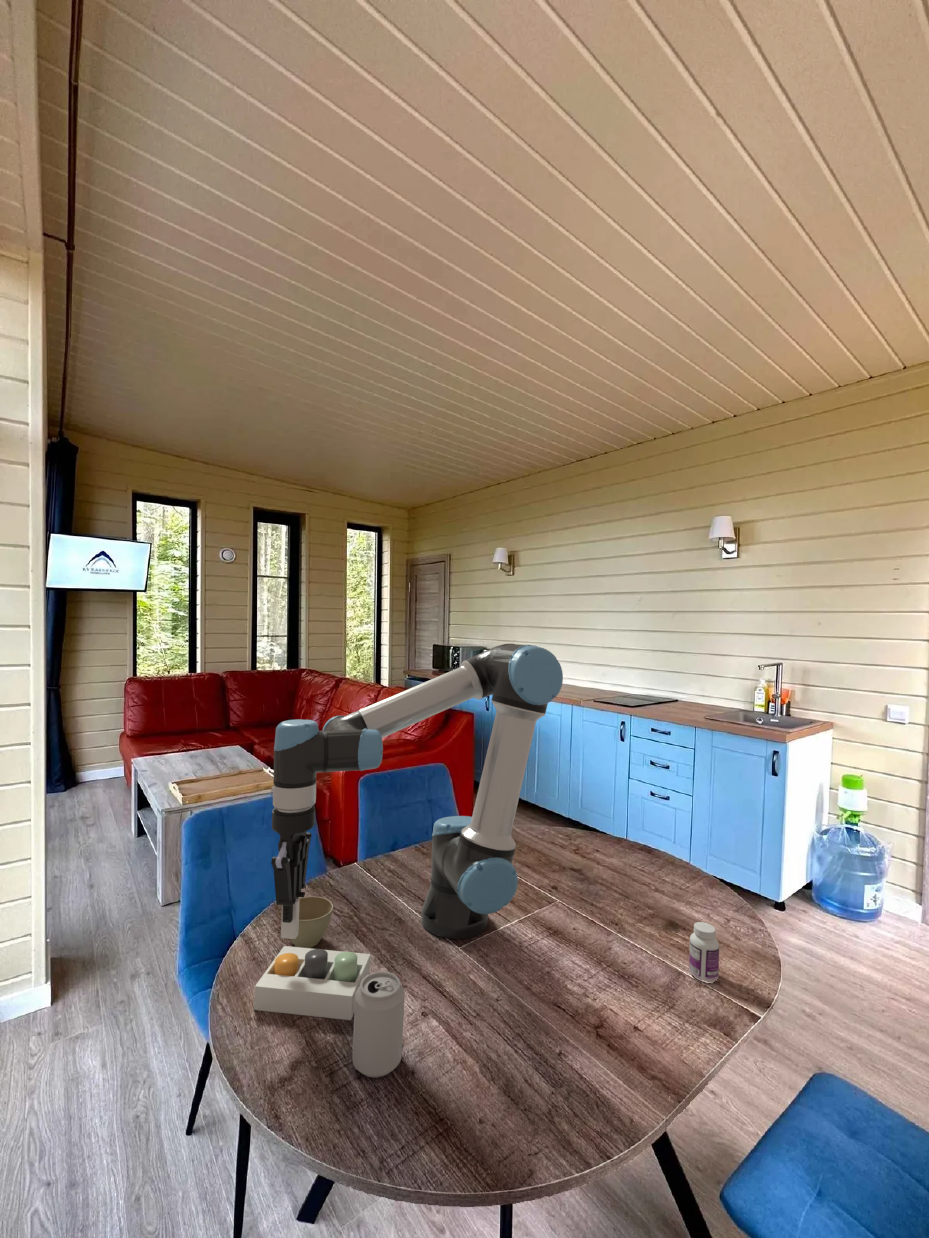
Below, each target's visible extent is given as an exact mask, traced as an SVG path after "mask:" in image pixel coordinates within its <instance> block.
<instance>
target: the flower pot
mask: <svg viewBox="0 0 929 1238" xmlns="http://www.w3.org/2000/svg"><path fill="white" fill-rule="evenodd" d="M298 899H300V904H299V934H298V936H297V937H296V939H290V940H291V942H292V944H293V946H294V947H301V948H311V949H313V948H314V947H315V946H317V945H318V944H319V942H320V941H321V940H322V938H323V936H324V935H325V932H326V931H327V929H328V927H329V924H330V922H331V918H332V915H333V910H334V905H333V902H332V901H331V900H329V899H327V898H325V897H322V896H310V895H309V896H304V897H299V898H298Z"/></svg>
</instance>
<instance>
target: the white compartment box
mask: <svg viewBox="0 0 929 1238" xmlns="http://www.w3.org/2000/svg"><path fill="white" fill-rule="evenodd" d="M314 949H315V948H301V947H296V946H289V945H288V946H287V945H284V946H283V947H282V948H281V949H280V951H279V952H278V954H277V955H276V957H275V958H274V959H273V961H272V962H271V964H269V966H268V968H267V969H266V970H265V971H264V973H263V974H262V976H261V977H260V979H259V980H258V981H257V983H256V984H255V987H254V1001H253V1003H254V1004H253V1010H254V1011H260V1012H261V1011H262V1012H268V1013H270V1012H271V1013H279V1014H280V1013H281V1014H288V1015H289V1014H290V1015H299V1016H307V1017H317V1018H326V1019H335V1020H344V1021H352V1019H353V1017H354V1011H355V994H356V991H357V989H358V988H359V987H360V983H361V981H362V979H363V978H364V977H366V976H367V975H369V974H371V973H370V969H371V968H370V967H371V954H370V953H363V952H362V953H361V952H354V953H355V954H356V955H357V978H356V982H355V983H354V982H344V981H334V964H335V957H336V956H337V955H338V954H340V953H342V952H343V951H341V950H332V949H331V950H329V949H324V950H325V951H327V953H328V961H327V976H326V978H325V980H324V979H314V978H305V977H304V967H305V955H306V953H307V952H309V951H311V950H314ZM285 953H293V954H296V955H297V956H298V971H297V973H296V974H295V976H285V975H275V974H274V973H275V960H276V958H277V957H278V956H280V955H282V954H285Z"/></svg>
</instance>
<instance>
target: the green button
mask: <svg viewBox="0 0 929 1238" xmlns="http://www.w3.org/2000/svg"><path fill="white" fill-rule="evenodd" d="M355 953H356V952H353V951H342V953H340V954H338V955H337V956H336V957H335V964H334V981H344V982H354V983H355V982H356V978H357V955H356V954H355Z"/></svg>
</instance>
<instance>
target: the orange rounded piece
mask: <svg viewBox="0 0 929 1238" xmlns="http://www.w3.org/2000/svg"><path fill="white" fill-rule="evenodd" d="M275 958H276V957H275ZM297 971H298V956H297V955H296V954H293V953H285V954H282V955H280V956H278V957H277V958H276V960H275V973H274V974H275V975H285V976H295V974H296V973H297Z"/></svg>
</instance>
